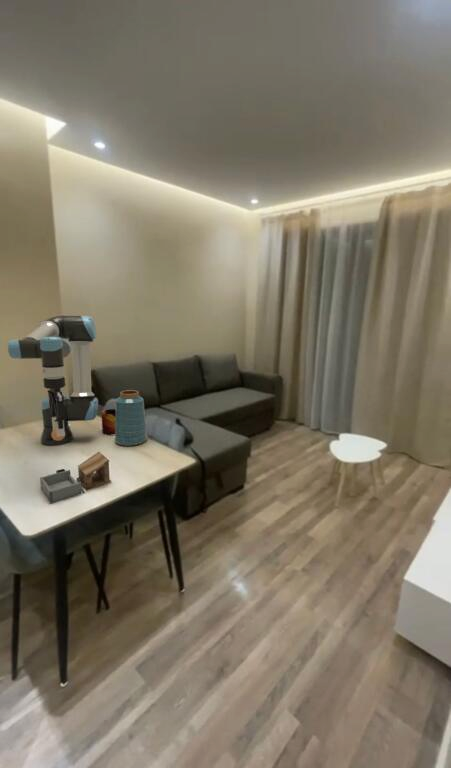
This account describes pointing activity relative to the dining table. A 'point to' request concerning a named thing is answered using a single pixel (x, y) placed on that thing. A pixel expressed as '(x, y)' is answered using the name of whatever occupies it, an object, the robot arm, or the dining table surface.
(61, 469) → the dark open box
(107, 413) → the mug
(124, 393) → the vase
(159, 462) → the dining table surface
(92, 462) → the wooden cubby
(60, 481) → the bin
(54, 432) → the ball
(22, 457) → the dining table surface
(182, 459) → the dining table surface
